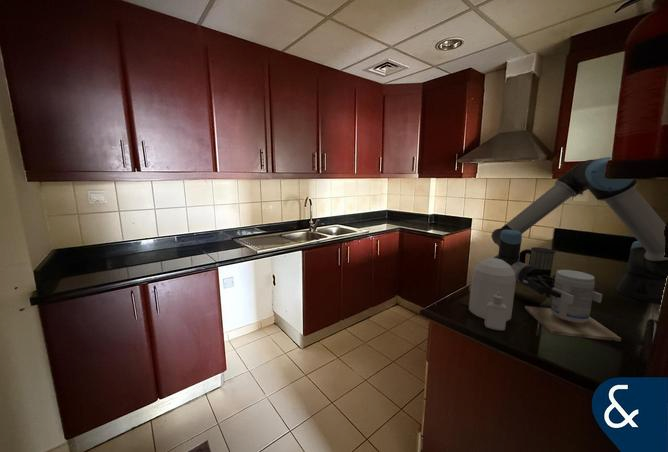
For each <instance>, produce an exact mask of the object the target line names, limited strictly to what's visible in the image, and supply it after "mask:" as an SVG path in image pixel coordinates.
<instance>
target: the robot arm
mask: <svg viewBox="0 0 668 452" xmlns="http://www.w3.org/2000/svg"><path fill="white" fill-rule="evenodd" d="M611 157H612V156H606V157H600V158H596V159H595V158H594V159H587V160H584V161H581V162H578V163H577V164H575V165H574V166H573V167H572V168H570V169H569V170H568V171H566V172H565V173H564V174H563V175H561V176H560V177H559V178H558V179H557V180H555V182H554V185H553V186H552V187H551V188H549V189H548V190H547V191H546V192H545V193H543V194H541V195H540V196H539V197H538V198H536V200H534V201H533V202H531V203H530V204H529V205H528V206H527V207H525V208H524V209H523V210H522V211H520V212H519V213H518V214H517V215H516V216H514V217H513V218H512V219H511V220H509V221H508V222H507V223H505V224H504V225H503V226H501V227H500V228H496V229H495V230H493V231H492V233H491V239H492V242H493V243H494V244H495V245H497V247H498V254H497V255H495V256H493V258H497V259H501V260H503V261H505V262H506V263H507V264H509V265H510V266H511V267H512V269H513V270H514V272H515V280H516V282H518V283H521V284H522V285H525V286H526V287H529V288H530V289H532V290H534V292H536V293H538V294H540V295H542V296H543V295H544V294H545V297H546V298H550V297H552V298H553V297H555V298H558V299H560V300H562V301H564V302H566V303H569V304H573V301H574V296H573V295H570V294H568V293H566V292H563V291H561V290H558V289H556V288H554V283H555V276H556V275H552V276H550V277H549V276H547V275H543V273H542V272H541V270H540V269H538V268H535V267H532V266H530V265H529V264H527V263H525V264H524V263H521V262H519V255H520V252H521V246H522V241H523V237H522V236H523V234H524V233H526V231H528V230H529V229H531V228H532V227H533V226H535V225H536V224H537V223H539V221H541V220H542V219H544V218H545V217H547V216H548V215H549V214H550V213H552V212H553V211H555V209H557V208H559V207H560V205H563V203H565V202H566V201H568V200H569V199H570V198H575V197H577V196H578V195H580V194H581V193H583V192H586V191H588V190H589V191H590V193H591V194H592V195H593V197H594V198H595V199H596V200H597V201H602V202H605V203H606V204H607V205H608V207H609V209H611V210H612V211H613V212H614V214H615V215H616V216H617V217H618V219H620V221H621V222H622V224H623V225H624V226H625V227H626V228H627V229H628V230H629V232H630V233H631V235H633V236H634V239H636V241H633V242H632V244H631V246H630V249H629V250H630V252H629V257H628V263H627V266H626V271H625V274H624V276H623V278H622V279H621V280H620V282H619V283H618V284H617V286H616V292H618V294H621V295H623V296H625V297H629V298H631V299H632V298H633V299H636V300H639V301H643V302H648V303H654V304H662V303H661V300H662V295H663V290H664V287H665V283H666V278H667V276H668V258H665V257H664V253H665V236H664V230H665V226H666V225H667V224H666V223H665V222H664V221H663V219H662V218H661V217H660V216H659V215H658V214H657V213H656V211H655V210H654V208H652V206H650V204H649V203H648V201H646V199H645V198H644V197H643V196H642V195H641V193H640V192H639V191H638V189H636V187H637V185H638V180H637V179H636V178H635V179H607V178H605V173H606V165H607V163H608V161H609V160H610V159H611ZM602 299H603V294H602V293H600V292H597V291H595V290H594V291H593V298H592V302H596V303H599V304H600V303H601V304H602Z"/></svg>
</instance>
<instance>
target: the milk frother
mask: <svg viewBox="0 0 668 452" xmlns="http://www.w3.org/2000/svg"><path fill="white" fill-rule="evenodd" d="M527 254H528V255H529V261H528V265H530V266H532V267H535V268H538V269H540V270H541V272H542V273H543V275H547V276H549V277H552V276H551V275H552V267H553V263H554V258H555V254H556V250H553V249H550V248H545V247H535V246H534V247H531V248H530V249H529V248H527V249H526V248H525V249H523V250H520V254H519V262H521V263H524V264H526V256H527Z"/></svg>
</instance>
